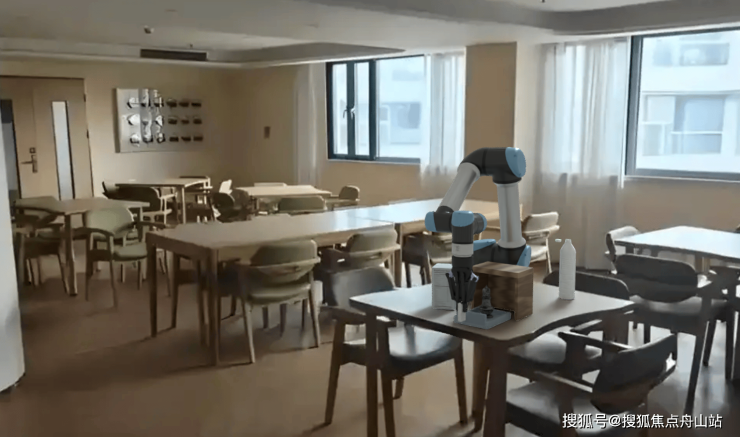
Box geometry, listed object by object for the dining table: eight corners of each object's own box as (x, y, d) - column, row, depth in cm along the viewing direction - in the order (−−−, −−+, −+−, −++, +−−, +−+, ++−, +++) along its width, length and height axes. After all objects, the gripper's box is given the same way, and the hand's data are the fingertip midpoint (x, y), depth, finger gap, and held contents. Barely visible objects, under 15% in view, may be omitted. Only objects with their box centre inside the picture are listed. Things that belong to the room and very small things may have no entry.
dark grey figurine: (491, 314, 249) (492, 283, 247) (495, 318, 243) (496, 286, 241) (476, 314, 248) (476, 283, 247) (480, 318, 242) (480, 287, 241)
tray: (453, 322, 242) (454, 309, 241) (478, 312, 255) (478, 300, 254) (487, 329, 233) (487, 315, 232) (510, 318, 245) (511, 305, 245)
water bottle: (571, 295, 279) (572, 237, 276) (577, 299, 272) (579, 240, 269) (551, 296, 278) (552, 238, 275) (556, 300, 272) (558, 240, 268)
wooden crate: (471, 311, 256) (471, 266, 254) (487, 305, 265) (487, 261, 263) (517, 320, 243) (518, 272, 241) (532, 313, 252) (533, 267, 250)
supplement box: (459, 304, 267) (459, 263, 265) (454, 310, 258) (455, 268, 256) (436, 302, 270) (436, 262, 268) (431, 308, 261) (431, 267, 259)
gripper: (440, 254, 231) (440, 319, 234) (472, 258, 223) (471, 326, 226) (452, 251, 237) (452, 315, 240) (484, 255, 228) (483, 321, 231)
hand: (461, 320), depth 233 cm, fingers closed
